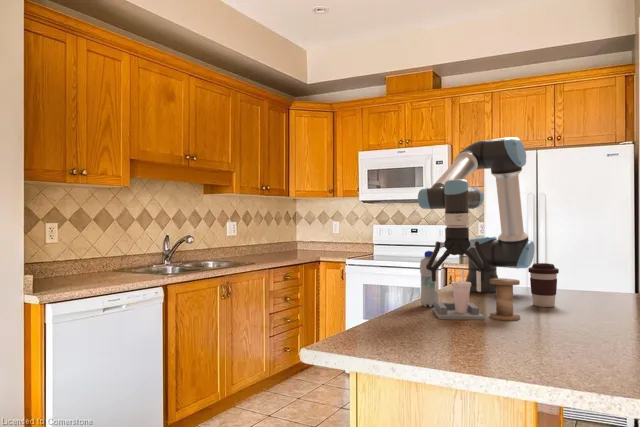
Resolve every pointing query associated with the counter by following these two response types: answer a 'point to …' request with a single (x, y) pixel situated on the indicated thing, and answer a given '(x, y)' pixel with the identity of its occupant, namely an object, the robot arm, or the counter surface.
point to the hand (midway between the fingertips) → (457, 291)
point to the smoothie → (461, 294)
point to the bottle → (427, 283)
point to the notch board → (448, 312)
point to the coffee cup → (543, 284)
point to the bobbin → (504, 299)
